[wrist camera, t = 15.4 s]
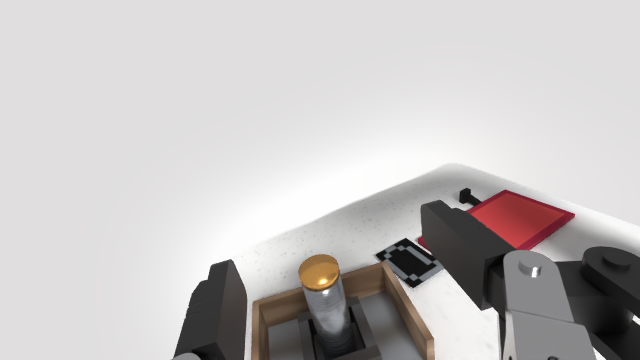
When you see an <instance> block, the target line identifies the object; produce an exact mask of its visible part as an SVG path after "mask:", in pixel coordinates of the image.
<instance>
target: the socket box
mask: <svg viewBox="0 0 640 360" xmlns="http://www.w3.org/2000/svg"><path fill="white" fill-rule="evenodd" d="M340 276H341V280H342V285H343V289H344V293H345V298H346V302H347V307H348V311H349V316H350V320H351V324H352V329H353V333H354V338H355V342H356V346H357V351H356V352H353V353H350V354H347V355H344V356H341V357H338V358H335V359H332V360H435V355H434V338H433V336H432V335H431V333H430V331H429V330H428V328H427V327H426V325H425V323H424V322H423V320H422V318H421V317H420V315H419V314H418V312H417V310H416V309H415V307H414V305H413V304H412V302H411V301H410V299H409V297H408V296H407V294H406V293H405V291H404V289H403V288H402V286H401V284H400V283H399V281H398V280H397V278H396V276H395V275H394V273H393V271H392V270H391V268H390V267H389V265H388V263H387V262H386V261H384V262H381V263H377V264H374V265H371V266H368V267H364V268H361V269H358V270H355V271H351V272H348V273H345V274H342V275H340ZM251 360H326V359H325V357H324V354H323V351H322V347H321V344H320V341H319V338H318V335H317V332H316V328H315V325H314V322H313V319H312V316H311V312H310V309H309V306H308V303H307V300H306V297H305V293H304V290H303V287H299V288H296V289H293V290H290V291H286V292H283V293H280V294H277V295H273V296H270V297H267V298H264V299H260V300H257V301H254V302H253V309H252V347H251Z"/></svg>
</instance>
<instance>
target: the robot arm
mask: <svg viewBox="0 0 640 360" xmlns="http://www.w3.org/2000/svg"><path fill="white" fill-rule="evenodd" d="M421 224H422V237H423V240H424V243H425V245H426V247H427V248H428V249H429V251H430V252H431V253H432V254H433V255H434V256H435V258H436V259H437V260H438V261H439V262H440V263H441V265H442V266H443V267H444V268H445V269H446V270H447V272H448V273H449V274H450V275H451V276H452V277H453V279H454V280H455V281H456V282H457V283H458V284H459V286H460V287H461V288H462V289H463V290H464V291H465V293H466V294H467V295H468V296H469V297H470V298H471V300H472V301H473V302H474V303H475V304H476V305H477V307H478V308H479V309H480V310H481V311H482V310H485V309H488V308H491V307H493V308H494V309H495V310H496V311H497V312H498V315H497V324H498V342H499V360H596V357H595V353H594V350H593V347H594V348H595V349H596V350H597V351H598V352H599V353H600V354H601V355H602V356H603V357H604V358H605V359H606V360H640V325H638V324H637V323H636V322H635V321H633V320H632V319H633V316H634V315H636V316H637V317H638V318H640V257H638V256H636V255H634V254H632V253H629V252H627V251H624V250H621V249H617V248H612V247H601V246H600V247H592V248H589V249H587V250H586V251H585V252H584V255H583V259H582V261H565V262H553V261H552V260H551V259H549V258H548V257H546V256H544V255H542V254H539V253H536V252H533V251H527V250H517V249H516V248H514V247H513V246H512V245H510V244H509V243H508V242H506V241H505V240H504V239H503V238H501V237H500V236H499V235H497V234H496V233H495V232H493V231H492V230H491V229H489V228H487V227H486V225H484V224H483V223H482V222H479V221H478V219H476V218H475V217H474V216H472V215H471V214H470V213H468V212H466V211H463V210H461V209H458V208H453V209H451V208H450V207H449V206H448V205H447V204H445V203H444V202H443V201H441V200H437V201H433V202H430V203H426V204H423V205H422V206H421ZM246 317H247V294H246V290H245V287H244V284H243V282H242V280H241V278H240V275H239V273H238V271H237V269H236V266H235V264H234V262H233V261H232V260H231V259H230V260H226V261H223V262H219V263H216V264H213V265H211V267H210V271H209V276H208V280H204V281H201V282H200V283H199V285H198V286H197V287H196V289H195V290H194V291H193V293H192V296H191V299H190V302H189V308H188V309H187V313H186V318H185V320H184V323H183V327H182V330H181V333H180V337H179V340H178V344H177V347H176V350H175V354H174V357H173V359H172V360H244V351H245V334H246ZM592 346H593V347H592Z"/></svg>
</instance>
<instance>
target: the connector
mask: <svg viewBox="0 0 640 360" xmlns="http://www.w3.org/2000/svg"><path fill="white" fill-rule="evenodd" d="M298 273H299V277H300V281H301V284H302V287H303V290H304V293H305V297H306V300H307V303H308V306H309V309H310V312H311V316H312V319H313V322H314V325H315V328H316V332H317V335H318V338H319V341H320V344H321V347H322V351H323V354H324V357H325V359H326V360H332V359H335V358H338V357H341V356H344V355H347V354H350V353H353V352H356V351H357V346H356V342H355V338H354V333H353V329H352V324H351V320H350V316H349V311H348V307H347V302H346V298H345V293H344V289H343V285H342V280H341V276H340V271H339V267H338V263H337V261H336V259H334V258H333V257H332V256H329V255H324V254H321V255H315V256H312V257H310V258H308V259H307V260H305V261H304V262H303V263H302V264H301V266H300V268H299V272H298Z"/></svg>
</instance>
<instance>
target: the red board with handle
mask: <svg viewBox="0 0 640 360" xmlns="http://www.w3.org/2000/svg"><path fill="white" fill-rule="evenodd" d="M459 202H460V203H463V204H464V203H466V202H470V203H471V204H473V205H474V206H475V207H473V208H472V209H470V210H468V211H466V212H468V213H470V214H471V215H472V216H474V217H475V218H476V219H478V221H479V222H482V223H483V224H484V225H486V227H487V228H489V229H491V230H492V231H493V232H495V233H496V234H497V235H499V236H500V237H501V238H503V239H504V240H505V241H506V242H508V243H509V244H510V245H512V246H513V247H514V248H516V249H517V250H527V251H529V250H530V249H532V248H533V247H535V246H536V245H537V244H539V243H540V242H541V241H543V240H544V239H545V238H547V237H548V236H549V235H551V234H552V233H554V232H555V231H556V230H558V229H559V228H560V227H562V226H563V225H564V224H566V223H567V222H569V221H570V220H571V219H573V218H574V217H575V214H573V213H571V212H568V211H565V210H562V209H559V208H556V207H554V206H551V205H548V204H545V203H542V202H539V201H536V200H534V199H531V198H528V197H525V196H522V195H519V194H516V193H514V192H511V191H508V190H503V191H501V192H500V193H498V194H496V195H494V196H493V197H491V198H489V199H487V200H486V201H484V202H481V201H480V200H478V199H477V198H475V197H474V196H472V195H471V189H468V188H465V189H463V190H462V191H460V198H459ZM418 243H419V244H420V245H422V246H423V247H425V248H426V249H428V248H427V247H426V245H425V243H424V240H423V237H421V238H419V239H418ZM428 250H429V249H428ZM376 256H377V257H378V258H379V259H380V260H382V261H383V262H384V261H386V262H387V263H388V265H389V267H390V268H391V269H392V270H393V271H394V272H395V273H397V274H398V275H399V276H400V277H401V278H402V279H403V280H405V281H406V282H407V283H408V284H409V285H410V286H411V287H413V288H414V287H416V286H418V285H419V284H421V283H422V282H424V281H425V280H427V279H428V278H430V277H431V276H433V275H435V274H436V273H438V272H439V271H441V270H442V269H444V267H443V266H442V265H441V263H440V262H439V261H438V260H437V259H436V258H434V257H433V256H431V255H430V254H429V253H427V252H426V251H424V250H423V249H421V248H420V247H418V246H417V245H415V244H414V243H413V242H411V241H410V240H408V239H407V238H405V239H403V240H401V241H400V242H398V243H396V244H394V245H392V246H391V247H389V248H387V249H385V250H383V251H382V252H380V253H378V254H376Z"/></svg>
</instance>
